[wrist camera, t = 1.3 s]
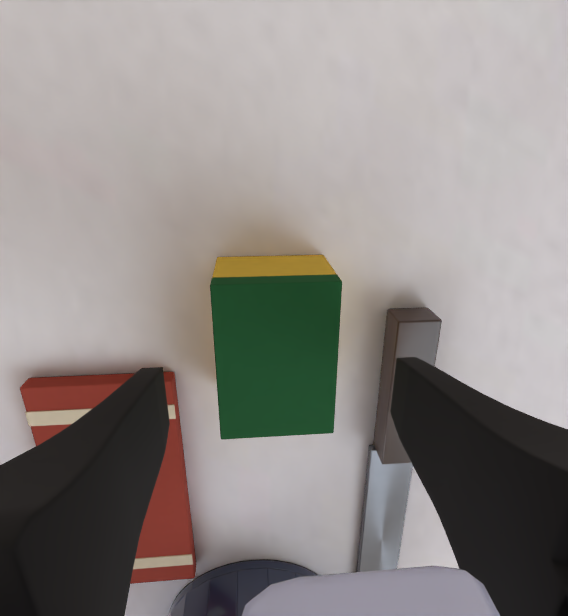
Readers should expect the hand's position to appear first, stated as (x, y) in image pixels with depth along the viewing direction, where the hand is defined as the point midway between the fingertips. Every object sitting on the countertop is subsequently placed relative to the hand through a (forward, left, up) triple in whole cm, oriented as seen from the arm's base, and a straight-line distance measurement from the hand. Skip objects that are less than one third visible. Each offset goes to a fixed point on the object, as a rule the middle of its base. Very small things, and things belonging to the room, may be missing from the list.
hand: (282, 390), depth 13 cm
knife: (+6, -10, -5) cm, 13 cm away
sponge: (0, 0, -5) cm, 5 cm away
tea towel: (-7, -8, -5) cm, 12 cm away
